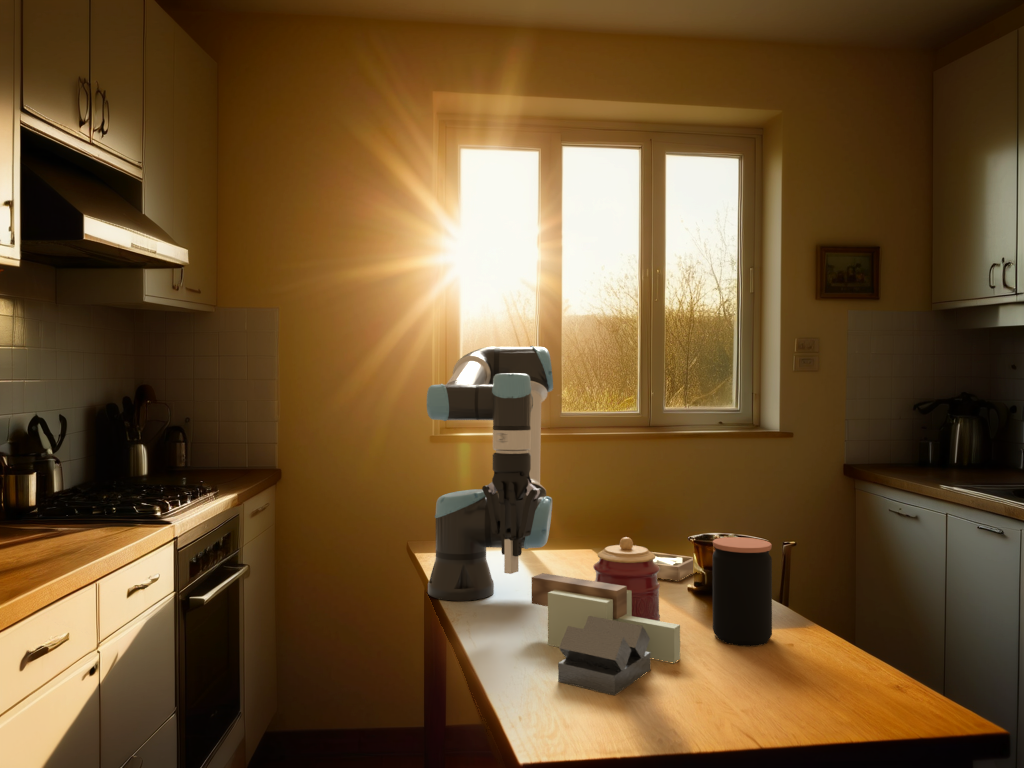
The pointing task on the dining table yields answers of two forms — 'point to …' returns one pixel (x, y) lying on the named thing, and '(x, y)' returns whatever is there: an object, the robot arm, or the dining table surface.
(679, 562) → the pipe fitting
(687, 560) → the tray
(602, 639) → the v block
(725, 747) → the dining table surface
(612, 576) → the canister
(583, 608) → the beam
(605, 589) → the bar
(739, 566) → the coffee jar
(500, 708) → the dining table surface
